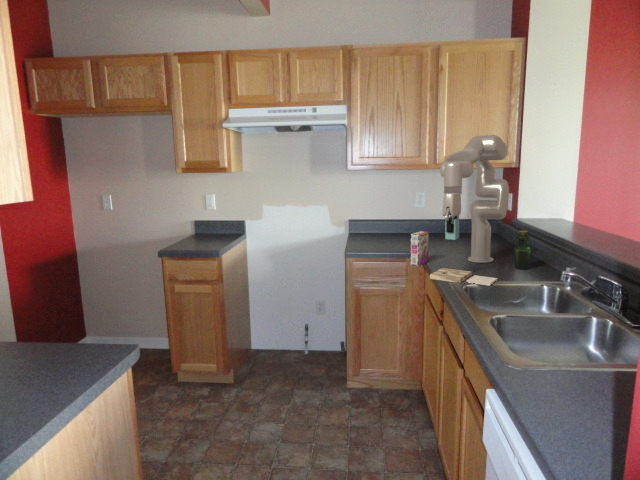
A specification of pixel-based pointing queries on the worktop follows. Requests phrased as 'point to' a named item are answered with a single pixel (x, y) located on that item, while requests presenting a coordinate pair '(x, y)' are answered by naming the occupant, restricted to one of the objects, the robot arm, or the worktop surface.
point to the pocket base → (451, 275)
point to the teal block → (456, 230)
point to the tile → (482, 280)
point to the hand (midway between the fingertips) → (452, 231)
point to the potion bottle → (522, 252)
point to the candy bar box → (419, 248)
